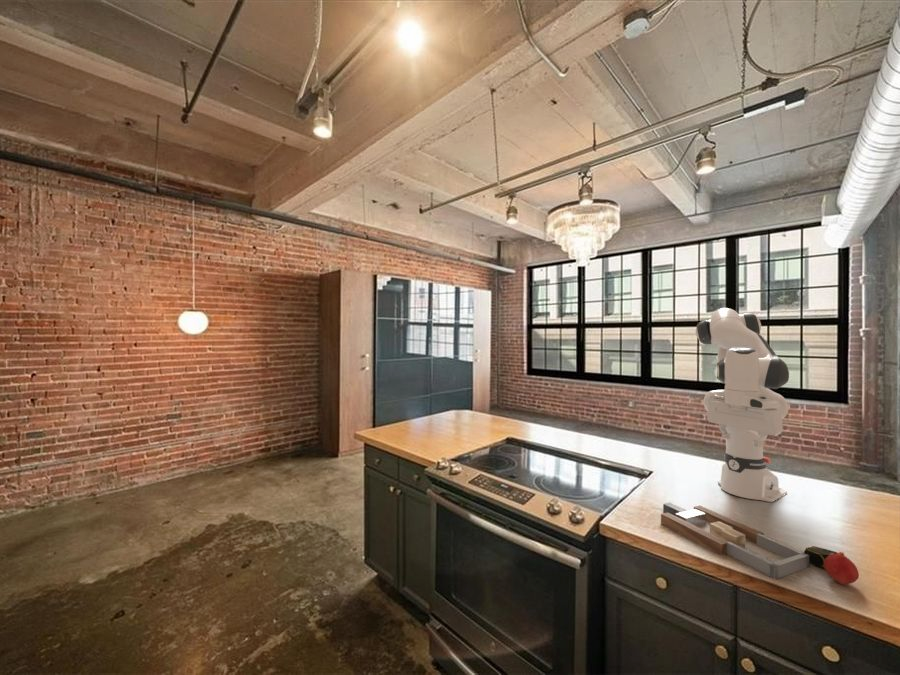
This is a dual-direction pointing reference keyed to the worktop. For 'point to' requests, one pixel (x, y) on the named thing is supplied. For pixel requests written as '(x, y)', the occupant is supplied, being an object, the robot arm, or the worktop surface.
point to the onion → (841, 568)
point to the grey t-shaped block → (685, 514)
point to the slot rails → (706, 537)
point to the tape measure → (818, 555)
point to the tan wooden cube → (718, 528)
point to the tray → (773, 569)
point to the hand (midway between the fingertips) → (741, 442)
